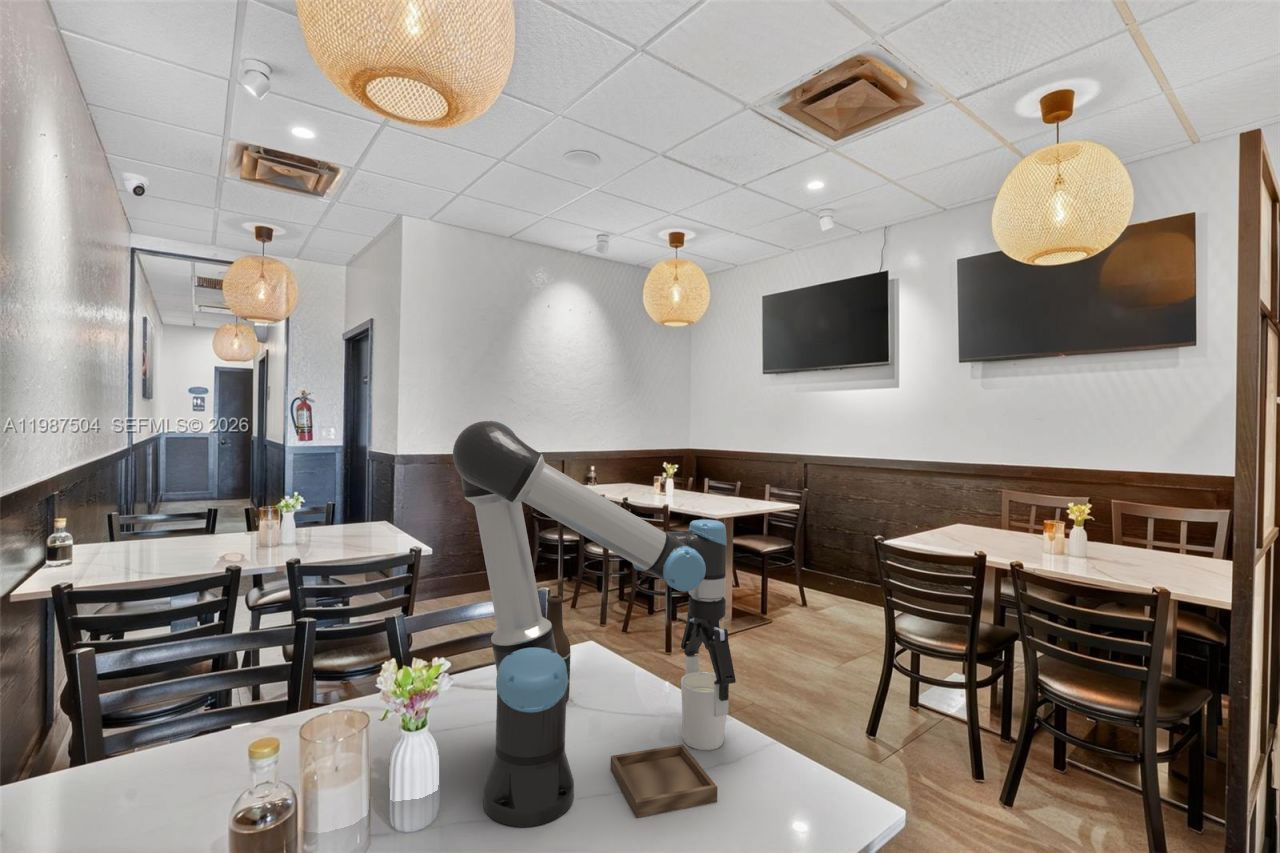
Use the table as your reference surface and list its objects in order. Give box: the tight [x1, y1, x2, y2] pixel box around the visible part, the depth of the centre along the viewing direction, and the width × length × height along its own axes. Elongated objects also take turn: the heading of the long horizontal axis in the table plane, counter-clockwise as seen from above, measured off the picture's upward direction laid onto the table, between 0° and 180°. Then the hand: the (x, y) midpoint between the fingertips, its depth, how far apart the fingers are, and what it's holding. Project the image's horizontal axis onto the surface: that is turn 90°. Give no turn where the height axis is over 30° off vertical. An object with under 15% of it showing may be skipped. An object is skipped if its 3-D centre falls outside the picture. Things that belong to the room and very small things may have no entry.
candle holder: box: [680, 671, 727, 751], centre depth 123 cm, size 10×10×12 cm
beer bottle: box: [546, 594, 572, 703], centre depth 138 cm, size 8×8×24 cm
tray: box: [609, 743, 718, 819], centre depth 107 cm, size 15×15×2 cm
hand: (705, 700), depth 123 cm, fingers open, 13 cm apart
